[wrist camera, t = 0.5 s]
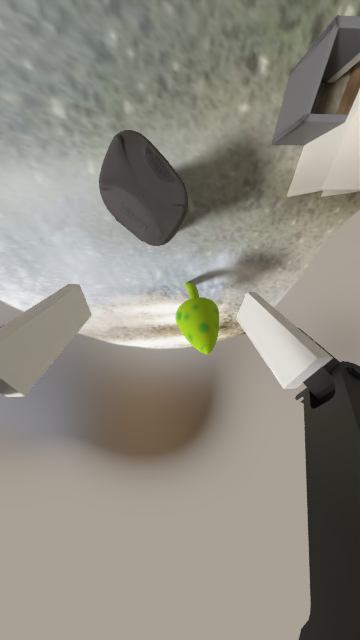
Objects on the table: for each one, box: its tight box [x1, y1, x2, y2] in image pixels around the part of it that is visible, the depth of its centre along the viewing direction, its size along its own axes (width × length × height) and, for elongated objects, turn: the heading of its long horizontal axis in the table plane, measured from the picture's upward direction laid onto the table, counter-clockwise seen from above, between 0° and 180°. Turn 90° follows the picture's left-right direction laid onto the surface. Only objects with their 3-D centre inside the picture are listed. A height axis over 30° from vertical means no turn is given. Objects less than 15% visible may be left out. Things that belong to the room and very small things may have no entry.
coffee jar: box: [99, 130, 188, 246], centre depth 21 cm, size 10×8×19 cm
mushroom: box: [176, 282, 219, 354], centre depth 29 cm, size 8×8×25 cm
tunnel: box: [272, 15, 360, 197], centre depth 21 cm, size 14×15×8 cm
